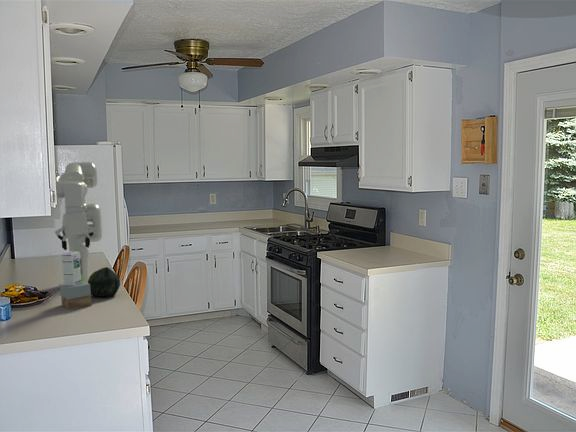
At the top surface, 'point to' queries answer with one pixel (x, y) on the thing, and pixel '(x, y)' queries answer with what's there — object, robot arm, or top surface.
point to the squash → (104, 282)
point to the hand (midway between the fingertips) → (76, 248)
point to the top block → (75, 290)
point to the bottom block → (76, 302)
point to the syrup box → (72, 268)
